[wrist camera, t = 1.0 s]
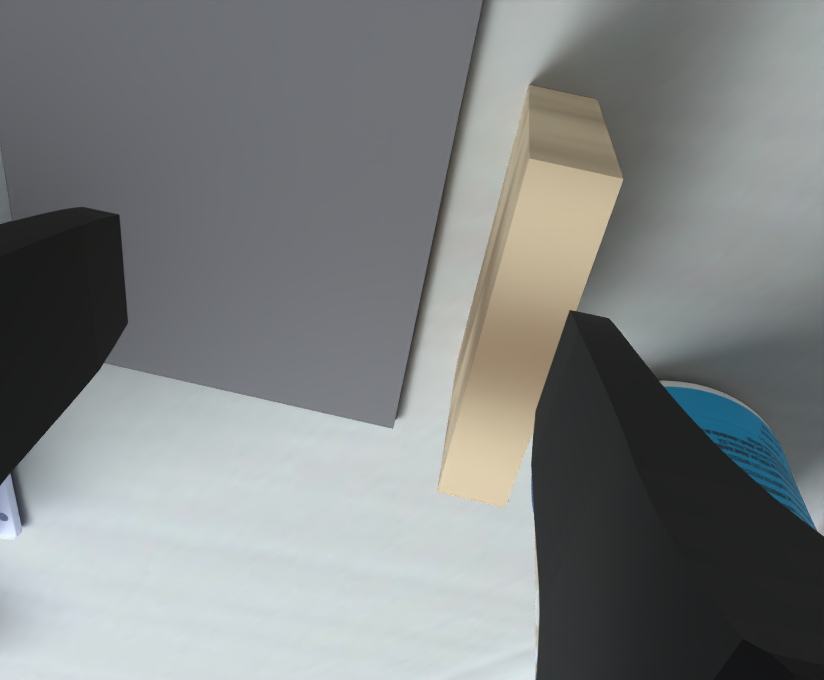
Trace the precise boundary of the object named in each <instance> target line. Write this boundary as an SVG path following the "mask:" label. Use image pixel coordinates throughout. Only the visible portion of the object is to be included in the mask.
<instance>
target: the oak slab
mask: <svg viewBox="0 0 824 680" xmlns="http://www.w3.org/2000/svg"><path fill="white" fill-rule="evenodd" d="M623 179H624V178H623V175H622V172H621V169H620V166H619V163H618V160H617V157H616V154H615V151H614V148H613V145H612V142H611V139H610V136H609V133H608V130H607V127H606V124H605V121H604V118H603V115H602V112H601V109H600V105H599V102H598V100H597V99H593V98H588V97H584V96H579V95H574V94H570V93H565V92H560V91H556V90H551V89H547V88H542V87H537V86H533V85H529V86H528V90H527V94H526V98H525V102H524V106H523V110H522V113H521V117H520V121H519V125H518V129H517V133H516V137H515V140H514V144H513V148H512V152H511V156H510V160H509V164H508V167H507V171H506V175H505V179H504V183H503V187H502V191H501V194H500V198H499V202H498V206H497V210H496V214H495V217H494V221H493V225H492V229H491V233H490V237H489V241H488V244H487V248H486V252H485V256H484V260H483V264H482V268H481V271H480V275H479V279H478V283H477V287H476V291H475V295H474V298H473V302H472V306H471V310H470V314H469V318H468V322H467V325H466V329H465V333H464V337H463V341H462V345H461V348H460V352H459V356H458V360H457V365H456V371H455V378H454V385H453V391H452V398H451V404H450V411H449V418H448V424H447V431H446V438H445V444H444V451H443V457H442V464H441V471H440V477H439V484H438V491H437V492H438V493H443V494H447V495H452V496H456V497H460V498H465V499H469V500H473V501H478V502H482V503H486V504H491V505H495V506H500V507H504V508H506V505H507V502H508V499H509V496H510V494H511V491H512V488H513V485H514V483H515V480H516V477H517V474H518V471H519V469H520V466H521V463H522V460H523V458H524V455H525V452H526V449H527V446H528V444H529V441H530V438H531V435H532V432H533V430H534V422H535V411H536V408H537V405H538V402H539V399H540V396H541V393H542V390H543V387H544V384H545V381H546V378H547V375H548V372H549V369H550V366H551V364H552V361H553V358H554V355H555V352H556V349H557V346H558V343H559V340H560V337H561V334H562V331H563V328H564V325H565V322H566V319H567V316H568V313H569V310H572V311H576V310H577V307H578V305H579V302H580V299H581V296H582V293H583V291H584V288H585V285H586V282H587V280H588V277H589V274H590V271H591V268H592V266H593V263H594V260H595V257H596V255H597V252H598V249H599V246H600V243H601V241H602V238H603V235H604V232H605V230H606V227H607V224H608V221H609V218H610V216H611V213H612V210H613V207H614V205H615V202H616V199H617V196H618V193H619V191H620V188H621V185H622V182H623Z"/></svg>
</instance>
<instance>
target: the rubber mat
mask: <svg viewBox="0 0 824 680" xmlns="http://www.w3.org/2000/svg"><path fill="white" fill-rule="evenodd" d="M482 3H483V0H0V146H1V153H2V159H3V165H4V171H5V177H6V184H7V190H8V196H9V202H10V209H11V215H12V221H15V220H19V219H23V218H27V217H31V216H35V215H39V214H43V213H48V212H52V211H57V210H62V209H68V208H76V207H86V208H91V209H96V210H100V211H105V212H110V213H115V214H119V215H120V227H121V240H122V252H123V264H124V277H125V289H126V302H127V314H128V324H127V326H126V328H125V329H124V331H123V333H122V334H121V336H120V338H119V339H118V341H117V343H116V345H115V346H114V348H113V350H112V351H111V353H110V354H109V356H108V357H107V359H106V360H105V362H104V363H107V364H111V365H116V366H120V367H124V368H129V369H133V370H138V371H142V372H146V373H151V374H155V375H159V376H164V377H168V378H173V379H177V380H181V381H186V382H190V383H195V384H199V385H203V386H208V387H212V388H217V389H221V390H225V391H230V392H234V393H239V394H243V395H247V396H252V397H256V398H261V399H265V400H269V401H274V402H278V403H283V404H287V405H291V406H296V407H300V408H304V409H309V410H313V411H318V412H322V413H326V414H331V415H335V416H340V417H344V418H348V419H353V420H357V421H362V422H366V423H370V424H375V425H379V426H384V427H388V428H392V429H393V426H394V422H395V418H396V413H397V408H398V404H399V399H400V394H401V389H402V385H403V380H404V375H405V370H406V366H407V361H408V356H409V351H410V346H411V342H412V337H413V332H414V327H415V323H416V318H417V313H418V308H419V304H420V299H421V294H422V289H423V285H424V280H425V275H426V270H427V265H428V261H429V256H430V251H431V246H432V242H433V237H434V232H435V227H436V223H437V218H438V213H439V208H440V204H441V199H442V194H443V189H444V184H445V180H446V175H447V170H448V165H449V161H450V156H451V151H452V146H453V142H454V137H455V132H456V127H457V123H458V118H459V113H460V108H461V104H462V99H463V94H464V89H465V84H466V80H467V75H468V70H469V65H470V61H471V56H472V51H473V46H474V42H475V37H476V32H477V27H478V23H479V18H480V13H481V8H482Z"/></svg>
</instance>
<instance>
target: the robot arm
mask: <svg viewBox="0 0 824 680" xmlns="http://www.w3.org/2000/svg"><path fill="white" fill-rule="evenodd" d="M127 324H128V314H127V302H126V289H125V277H124V264H123V252H122V240H121V227H120V215H119V214H115V213H110V212H105V211H100V210H96V209H91V208H86V207H76V208H68V209H62V210H57V211H52V212H48V213H43V214H39V215H35V216H31V217H27V218H23V219H19V220H15V221H11V222H7V223H3V224H0V538H5V539H11V540H12V539H16V538H17V537H18V536H19V534H20V533H21V532H22V527H21V522H20V517H19V512H18V508H17V503H16V498H15V493H14V488H13V484H12V479H11V474H10V473H11V472H12V470H13V469H14V468H15V467H16V466H17V465H18V464H19V462H20V461H21V460H22V459H23V458H24V457H25V455H26V454H27V453H28V452H29V451H30V450H31V449H32V447H33V446H34V445H35V444H36V443H37V442H38V441H39V439H40V438H41V437H42V436H43V435H44V434H45V433H46V431H47V430H48V429H49V428H50V427H51V426H52V425H53V423H54V422H55V421H56V420H57V419H58V418H59V417H60V415H61V414H62V413H63V412H64V411H65V410H66V409H67V407H68V406H69V405H70V404H71V403H72V402H73V400H74V399H75V398H76V397H77V396H78V395H79V393H80V392H81V391H82V390H83V389H84V388H85V386H86V385H87V384H88V383H89V382H90V380H91V379H92V378H93V377H94V376H95V374H96V373H97V372H98V371H99V369H100V368H101V366H102V365H103V363H104V362H105V360H106V359H107V357H108V356H109V354H110V353H111V351H112V350H113V348H114V346H115V345H116V343H117V341H118V339H119V338H120V336H121V334H122V333H123V331H124V329H125V328H126V326H127ZM531 468H532V487H533V505H534V520H535V536H536V551H537V567H538V583H539V635H538V657H537V679H536V680H824V536H822V535H821V534H820V533H819V532H817V531H816V530H815V529H813V528H812V527H811V526H809V525H808V524H807V523H806V522H804V521H803V520H802V519H800V518H799V517H798V516H796V515H795V514H794V513H792V512H791V511H790V510H789V509H788V508H786V507H785V506H784V505H783V504H781V503H780V502H779V501H778V500H777V499H775V498H774V497H773V496H772V495H771V494H769V493H768V492H767V491H766V490H765V489H764V488H763V487H761V486H760V485H759V484H758V483H757V482H756V481H755V480H754V479H753V478H751V477H750V476H749V475H748V474H747V473H746V472H745V471H744V470H743V469H741V468H740V467H739V466H738V465H737V464H736V463H735V462H734V461H733V460H732V459H731V458H729V457H728V456H727V455H726V454H725V453H724V452H723V451H722V450H721V449H720V448H719V447H718V446H717V445H716V444H715V443H714V442H713V441H712V440H711V439H710V437H709V436H708V435H707V434H706V433H705V432H704V431H703V430H702V429H701V428H700V427H699V426H698V425H697V424H696V423H695V422H694V421H693V419H692V418H691V417H690V416H689V415H688V414H687V413H686V412H685V411H684V410H683V408H682V407H681V406H680V405H679V404H678V403H677V402H676V400H675V399H674V398H673V397H672V396H671V395H670V393H669V392H668V391H667V390H666V389H665V387H664V386H663V385H662V384H661V383H660V381H659V380H658V379H657V378H656V376H655V375H654V374H653V373H652V371H651V370H650V369H649V368H648V366H647V365H646V364H645V363H644V361H643V360H642V359H641V358H640V356H639V355H638V354H637V352H636V351H635V350H634V349H633V347H632V346H631V345H630V343H629V342H628V341H627V340H626V338H625V337H624V336H623V335H622V333H621V332H620V331H619V330H618V328H617V327H616V326H615V325H614V324H613V322H612V321H611V320H610V319H609V318H605V317H600V316H596V315H591V314H586V313H581V312H577V311H572V310H569V313H568V316H567V319H566V322H565V325H564V328H563V331H562V334H561V337H560V340H559V343H558V346H557V349H556V352H555V355H554V358H553V361H552V364H551V366H550V369H549V372H548V375H547V378H546V381H545V384H544V387H543V390H542V393H541V396H540V399H539V402H538V405H537V408H536V411H535V422H534V433H533V446H532V461H531Z"/></svg>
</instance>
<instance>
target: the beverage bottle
mask: <svg viewBox="0 0 824 680" xmlns="http://www.w3.org/2000/svg"><path fill="white" fill-rule="evenodd" d="M660 383H661V384H662V385H663V386H664V387H665V389H666V390H667V391H668V392H669V393H670V395H671V396H672V397H673V398H674V399H675V400H676V402H677V403H678V404H679V405H680V406H681V407H682V408H683V410H684V411H685V412H686V413H687V414H688V415H689V416H690V417H691V418H692V419H693V421H694V422H695V423H696V424H697V425H698V426H699V427H700V428H701V429H702V430H703V431H704V432H705V433H706V434H707V435H708V436H709V437H710V439H711V440H712V441H713V442H714V443H715V444H716V445H717V446H718V447H719V448H720V449H721V450H722V451H723V452H724V453H725V454H726V455H727V456H728V457H729V458H731V459H732V460H733V461H734V462H735V463H736V464H737V465H738V466H739V467H740V468H741V469H743V470H744V471H745V472H746V473H747V474H748V475H749V476H750V477H751V478H753V479H754V480H755V481H756V482H757V483H758V484H759V485H760V486H761V487H763V488H764V489H765V490H766V491H767V492H768V493H769V494H771V495H772V496H773V497H774V498H775V499H777V500H778V501H779V502H780V503H781V504H783V505H784V506H785V507H786V508H788V509H789V510H790V511H791V512H792V513H794V514H795V515H796V516H798V517H799V518H800V519H802V520H803V521H804V522H806V523H807V524H808V525H809V526H811V527H812V528H813V529H815V530H816V528H815V526H814V523H813V521H812V519H811V517H810V515H809V512H808V510H807V508H806V506H805V504H804V501H803V499H802V497H801V495H800V492H799V490H798V488H797V486H796V483H795V481H794V479H793V476H792V474H791V471H790V468H789V465H788V462H787V460H786V457H785V455H784V453H783V451H782V448H781V446H780V444H779V442H778V440H777V438H776V436H775V435H774V433H773V432H772V430H771V429H770V427H769V426H768V425H767V424H766V422H765V421H764V420H763V419H762V418H761V417H760V416H759V415H758V414H757V413H755V412H754V411H753V410H752V409H751V408H749V407H748V406H747V405H745V404H744V403H742V402H740V401H739V400H737V399H735V398H733V397H731V396H729V395H727V394H725V393H723V392H720V391H718V390H715V389H712V388H709V387H706V386H702V385H697V384H693V383H687V382H679V381H660ZM531 491H532V505H533V487H532V477H531ZM533 512H534V505H533ZM816 531H817V530H816ZM535 574H536V679H537V657H538V635H539V583H538V567H537V551H536V536H535Z"/></svg>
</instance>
